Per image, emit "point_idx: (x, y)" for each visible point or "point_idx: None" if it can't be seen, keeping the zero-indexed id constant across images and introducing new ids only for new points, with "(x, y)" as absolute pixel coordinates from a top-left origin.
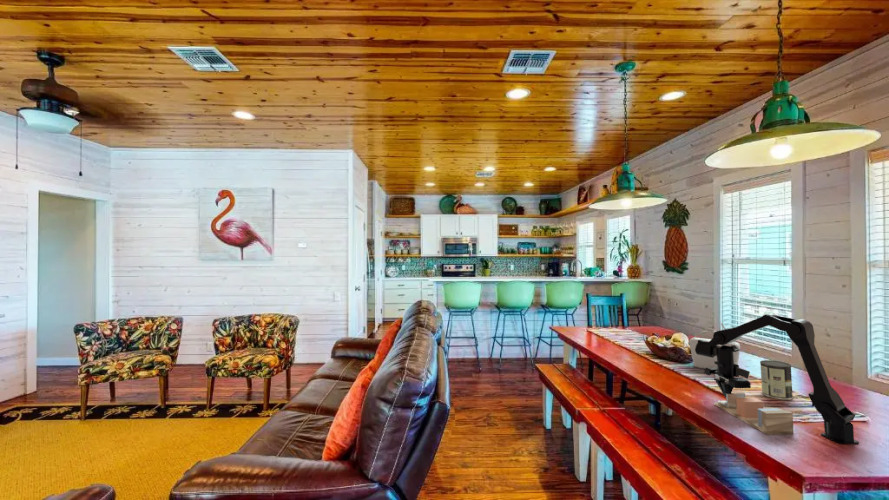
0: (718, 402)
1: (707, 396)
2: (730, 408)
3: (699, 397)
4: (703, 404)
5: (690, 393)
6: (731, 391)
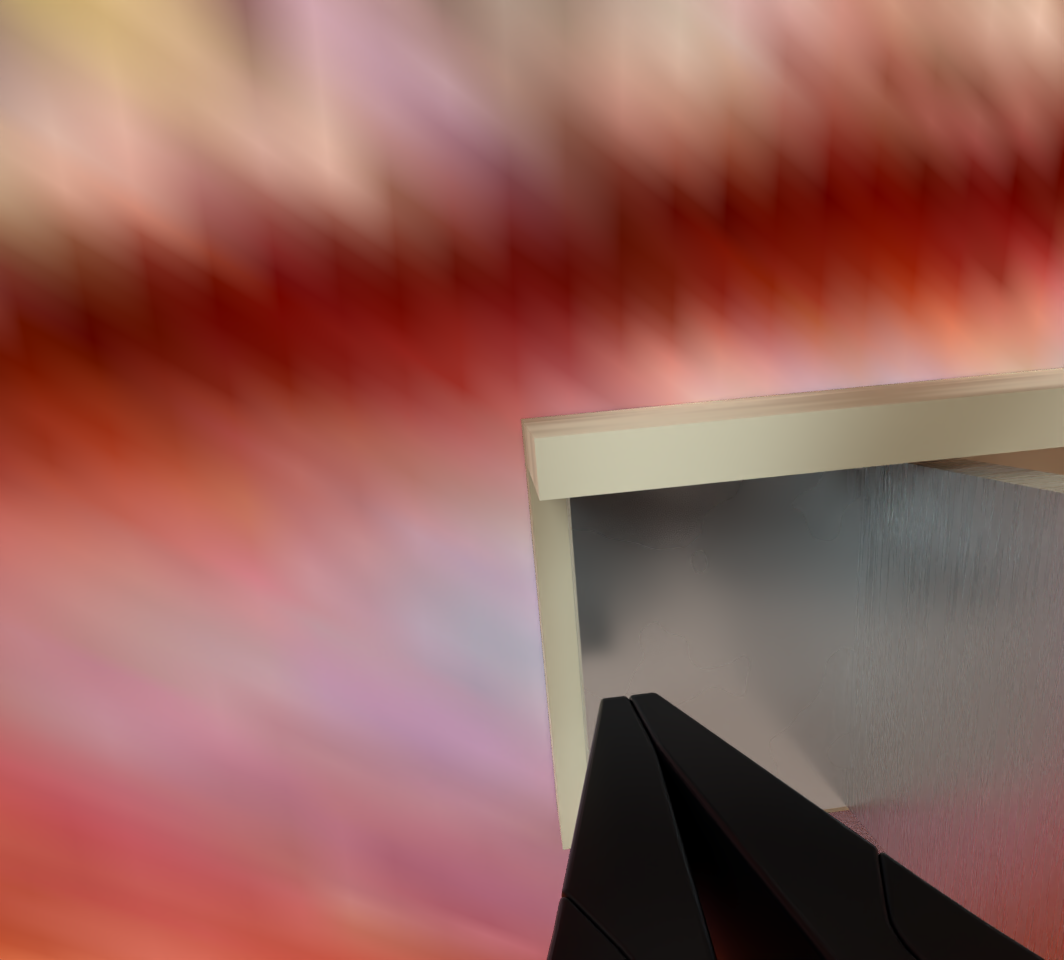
0: (575, 791)
1: (127, 739)
2: None
3: (212, 890)
4: (547, 953)
5: (5, 952)
6: (862, 846)
